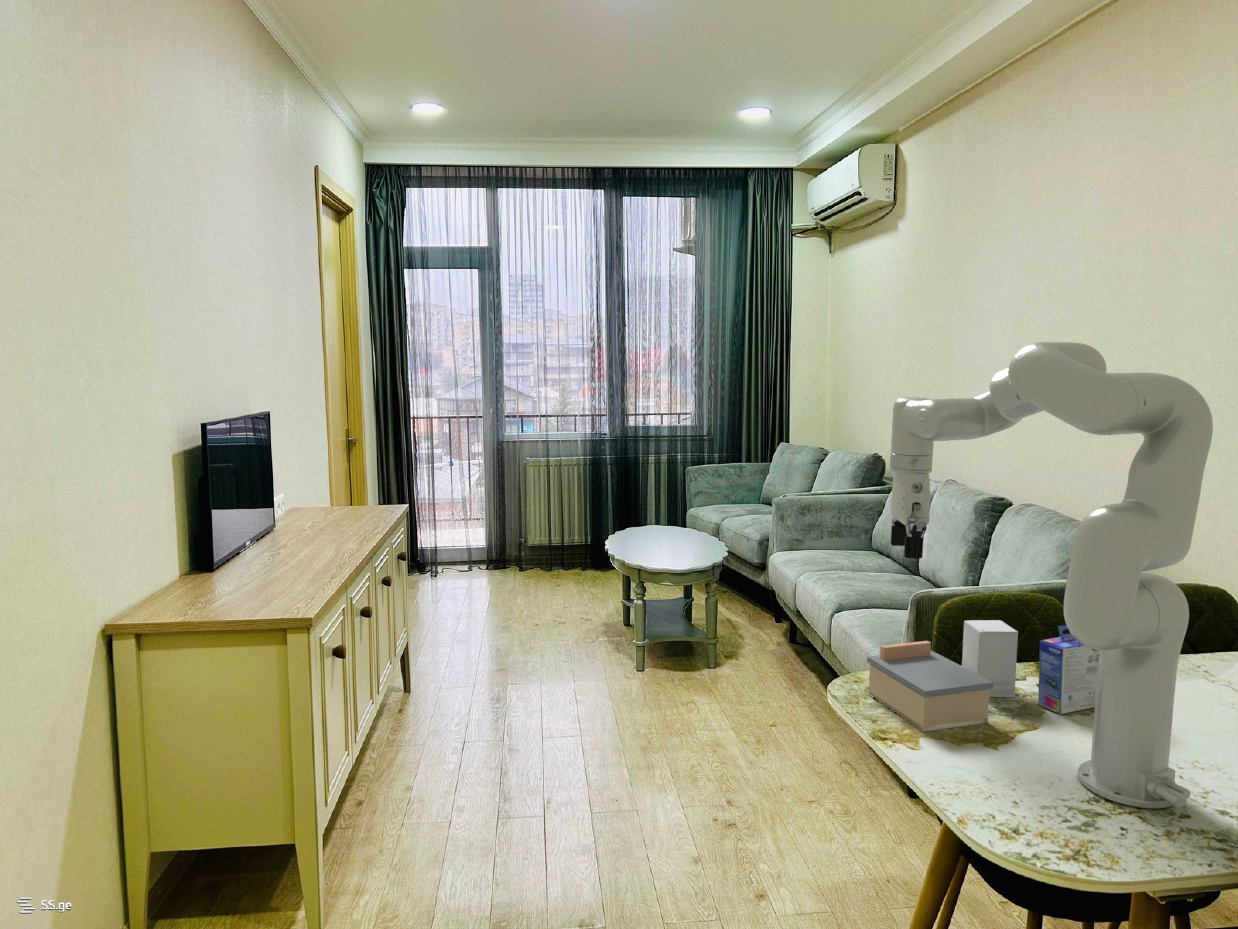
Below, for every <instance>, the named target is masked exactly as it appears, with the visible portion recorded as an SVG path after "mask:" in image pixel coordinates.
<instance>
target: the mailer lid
mask: <svg viewBox="0 0 1238 929" xmlns="http://www.w3.org/2000/svg"><path fill="white" fill-rule="evenodd" d="M879 647H880V648H879V649H880V651H879V653H880V654H878V655H872V656H871V655H869V656H867V658H866V662H867V663H868V664H869V665H870V664H871V665H873V666H875V667H876V668H878V669H880V670H881V671H883V672H885V673H886V674H888V675H889V676H891V677H893V678H894V679H896V680H898V681H899V682H901V683H903V684H904V685H906V686H908V687H909V688H911V689H913V690H914V691H916V692H918V693H919V694H921V695H922V696H924V697H929V696H937V695H944V694H952V693H960V692H967V691H975V690H983V689H990V688H993V683H994V682H992V681H990V680H988V679H986V678H984V677H982V676H980V675H978V674H976V673H974V672H972V671H970V670H968V669H966V668H964V667H962V664H958V663H957V662H954V661H953V660H951V659H949V658H947V657H946V656H944V655H941V654H939V653H937V652H935V651H933V650H932V642H931V641H929V640H923V641H922V640H921V641H912V642H903V643H893V644H885V645H880V646H879Z"/></svg>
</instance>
